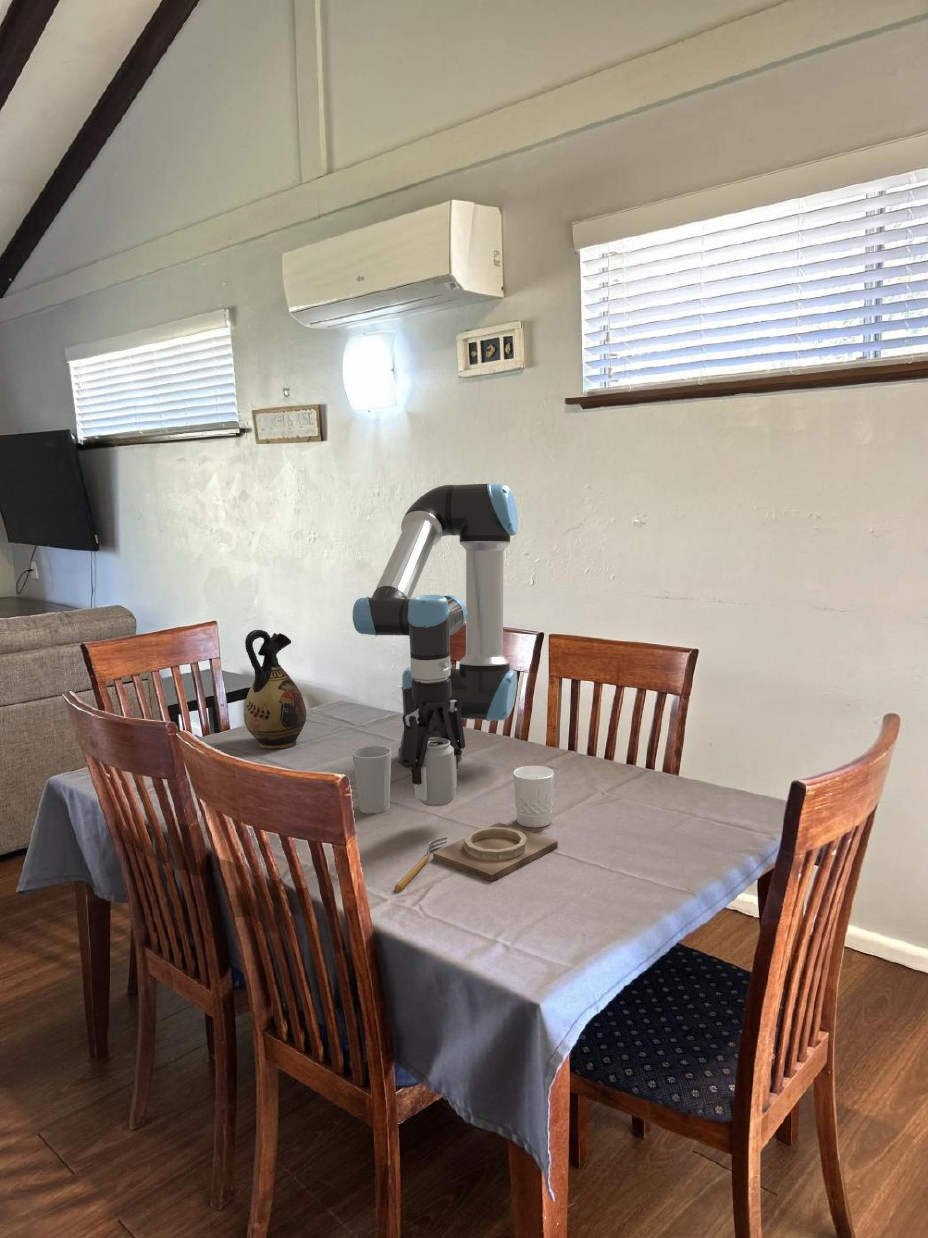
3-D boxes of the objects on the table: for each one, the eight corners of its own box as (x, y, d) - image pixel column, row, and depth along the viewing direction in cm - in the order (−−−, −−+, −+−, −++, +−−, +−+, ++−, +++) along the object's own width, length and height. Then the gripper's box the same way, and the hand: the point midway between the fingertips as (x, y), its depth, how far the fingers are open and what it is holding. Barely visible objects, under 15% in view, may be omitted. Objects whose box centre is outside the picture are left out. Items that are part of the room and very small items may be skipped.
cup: (387, 816, 185) (385, 758, 183) (349, 814, 187) (346, 757, 185) (398, 801, 193) (396, 746, 191) (361, 800, 195) (359, 745, 193)
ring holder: (499, 828, 177) (499, 814, 177) (557, 847, 168) (557, 833, 167) (433, 859, 164) (432, 844, 164) (492, 881, 155) (491, 866, 155)
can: (462, 796, 181) (460, 737, 178) (445, 810, 174) (443, 749, 172) (428, 791, 184) (425, 733, 181) (410, 805, 177) (407, 745, 175)
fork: (403, 886, 152) (448, 836, 170) (393, 882, 152) (438, 832, 171) (401, 899, 152) (445, 848, 171) (391, 895, 153) (436, 844, 171)
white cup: (558, 815, 183) (558, 767, 181) (549, 831, 175) (548, 780, 174) (520, 812, 185) (519, 764, 184) (509, 826, 178) (508, 777, 176)
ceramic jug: (287, 731, 246) (279, 621, 241) (319, 743, 235) (312, 627, 230) (229, 746, 235) (220, 630, 230) (260, 759, 224) (252, 637, 219)
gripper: (405, 692, 164) (411, 813, 169) (482, 669, 179) (485, 781, 183) (377, 686, 169) (384, 804, 174) (454, 664, 184) (458, 773, 188)
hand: (436, 792), depth 178 cm, fingers closed on can, 7 cm apart
